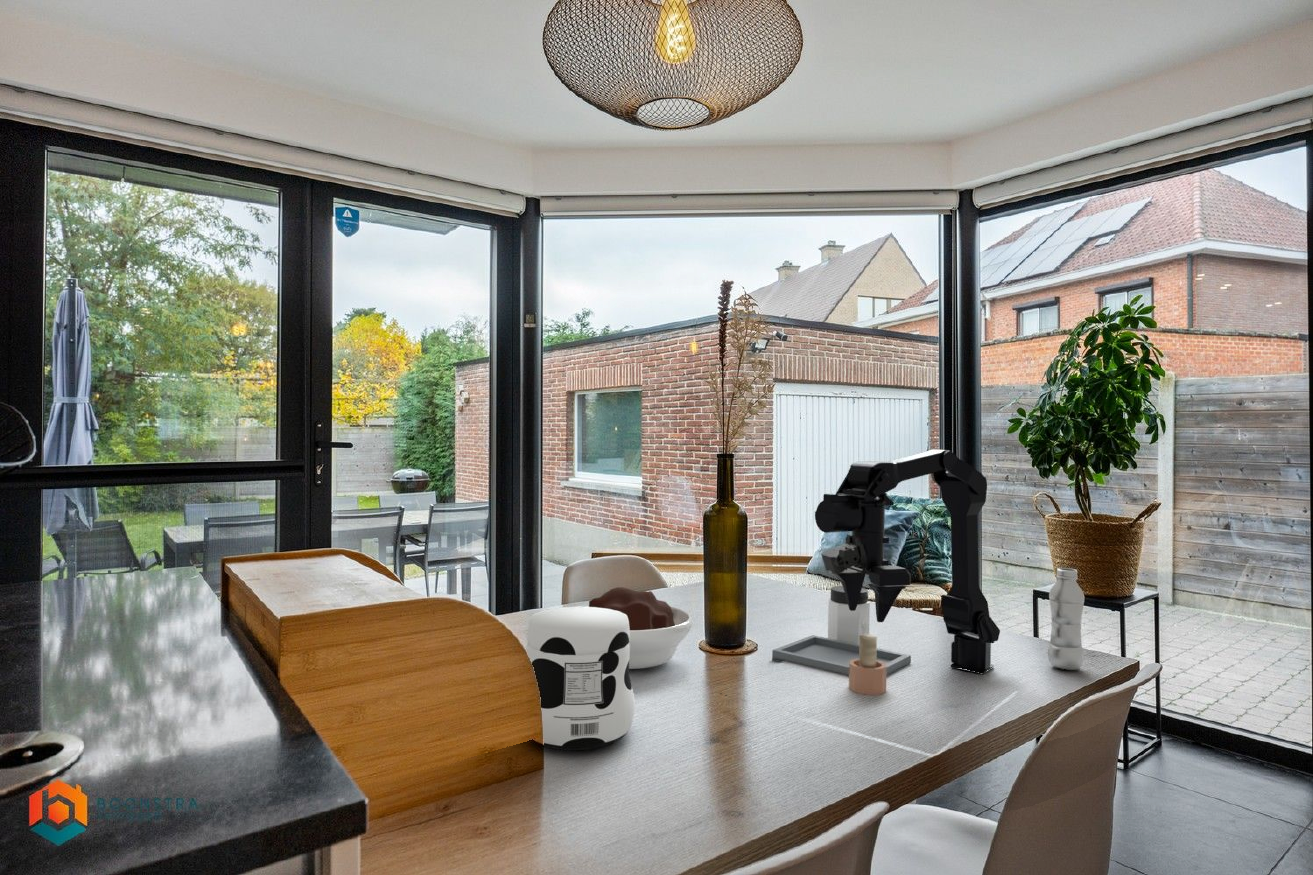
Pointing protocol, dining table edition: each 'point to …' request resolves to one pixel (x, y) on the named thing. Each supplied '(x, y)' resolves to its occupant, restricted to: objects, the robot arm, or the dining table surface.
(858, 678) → the cup
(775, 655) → the tray
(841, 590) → the jar
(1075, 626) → the plastic bottle
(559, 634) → the milk container
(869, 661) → the pin
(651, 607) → the white bowl
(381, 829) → the dining table surface
